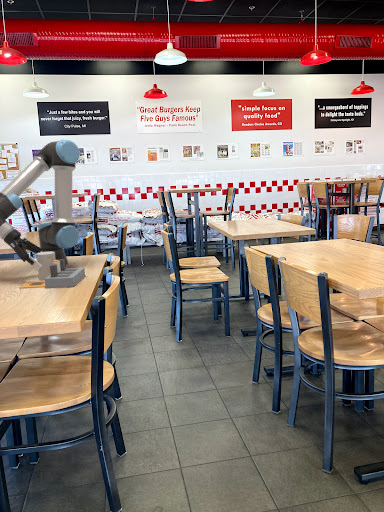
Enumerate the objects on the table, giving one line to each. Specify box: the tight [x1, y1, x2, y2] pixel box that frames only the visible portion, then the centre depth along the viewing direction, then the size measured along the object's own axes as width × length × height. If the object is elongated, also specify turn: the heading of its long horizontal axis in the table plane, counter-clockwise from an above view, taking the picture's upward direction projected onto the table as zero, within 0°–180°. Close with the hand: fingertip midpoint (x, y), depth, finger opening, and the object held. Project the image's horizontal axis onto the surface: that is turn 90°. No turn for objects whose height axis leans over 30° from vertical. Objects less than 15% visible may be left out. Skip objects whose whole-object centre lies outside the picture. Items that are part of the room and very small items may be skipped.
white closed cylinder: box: [35, 252, 56, 281], centre depth 198 cm, size 8×8×12 cm
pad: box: [19, 280, 45, 289], centre depth 187 cm, size 11×11×1 cm
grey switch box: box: [43, 259, 86, 289], centre depth 189 cm, size 20×12×9 cm, turn 0°
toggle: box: [53, 260, 61, 273], centre depth 189 cm, size 3×2×5 cm, turn 0°
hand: (45, 265), depth 197 cm, fingers open, 13 cm apart
